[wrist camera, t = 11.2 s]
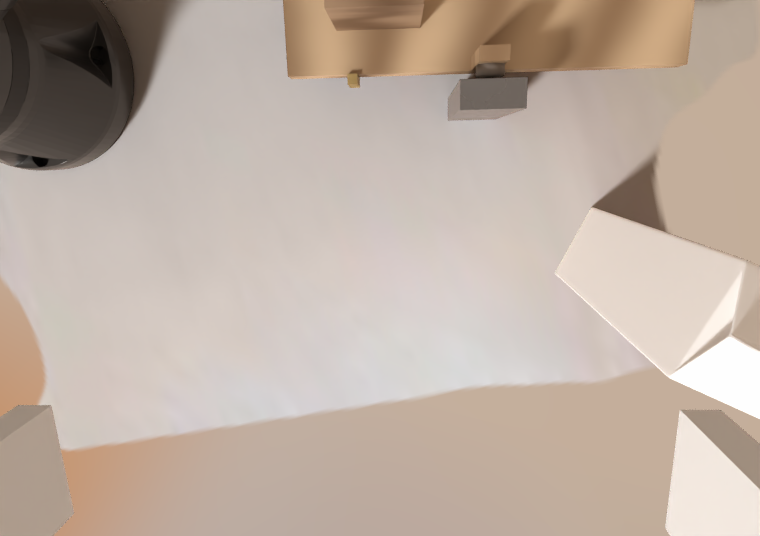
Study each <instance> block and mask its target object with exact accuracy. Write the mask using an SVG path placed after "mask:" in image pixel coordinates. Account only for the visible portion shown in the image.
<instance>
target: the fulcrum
mask: <svg viewBox="0 0 760 536" xmlns="http://www.w3.org/2000/svg"><path fill="white" fill-rule="evenodd" d="M527 84H528V77H515V78H487V79H460V81H459V82H458V84H457V85H456V87H455V88H454V90H453V92H452V93H451V95H450V96H449V98H448V121H451V120H486V119H497V118H500V117H503V116H506V115H509V114H512V113H514V112H517V111H520V110H523V109H526V106H527Z"/></svg>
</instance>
